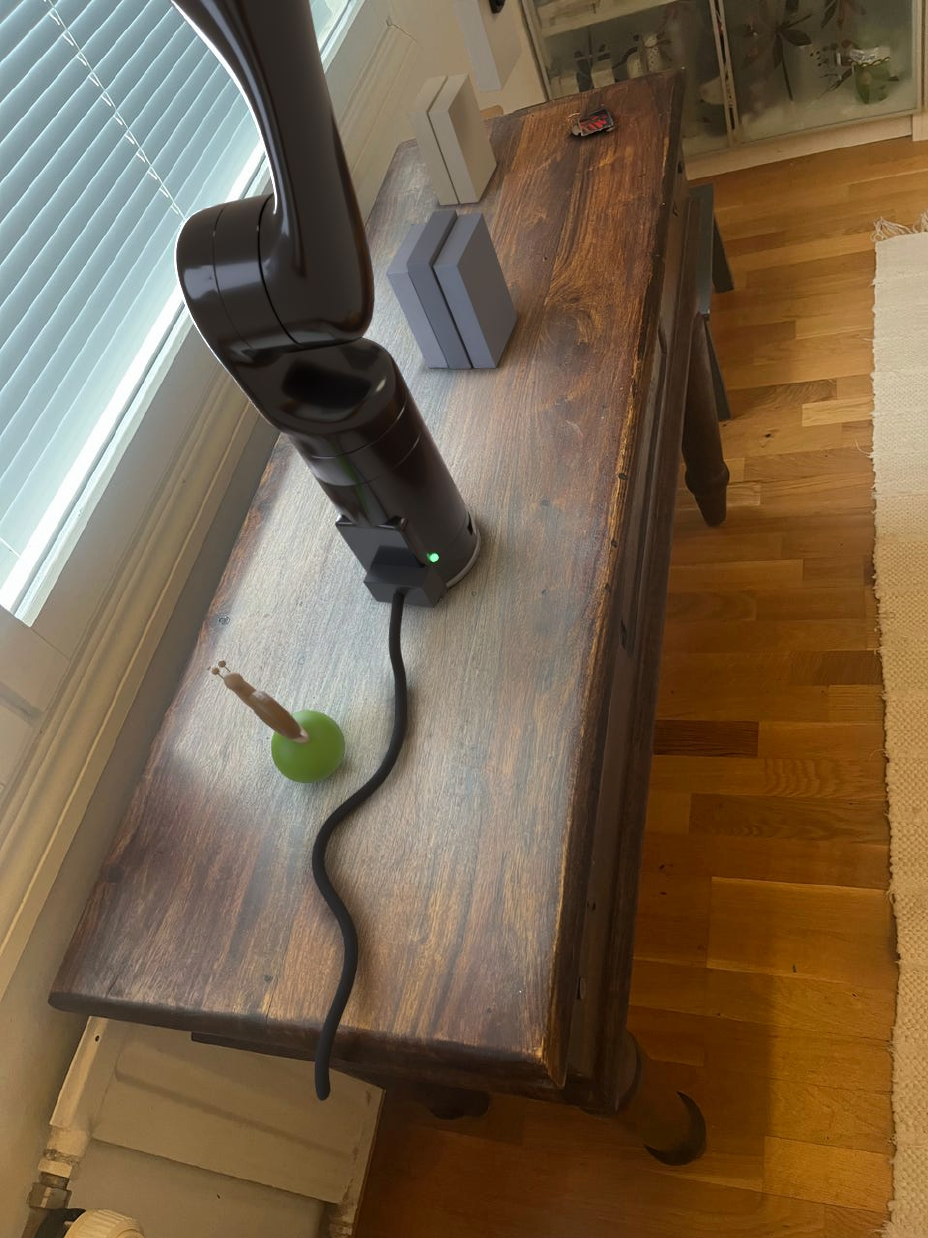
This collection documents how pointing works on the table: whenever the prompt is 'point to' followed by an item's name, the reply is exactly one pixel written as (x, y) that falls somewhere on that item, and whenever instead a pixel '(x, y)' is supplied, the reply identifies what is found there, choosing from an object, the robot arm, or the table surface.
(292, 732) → the snail figurine
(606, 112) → the black red flat piece
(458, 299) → the grey books
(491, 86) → the cream book
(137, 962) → the table surface
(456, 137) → the cream books
